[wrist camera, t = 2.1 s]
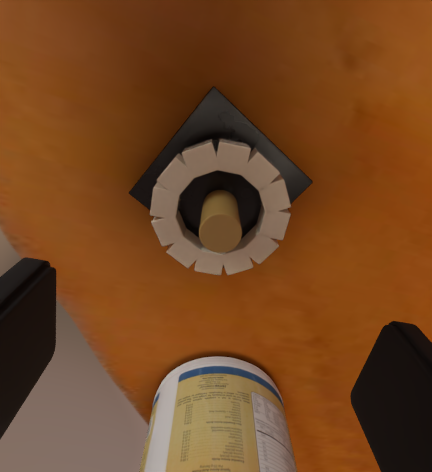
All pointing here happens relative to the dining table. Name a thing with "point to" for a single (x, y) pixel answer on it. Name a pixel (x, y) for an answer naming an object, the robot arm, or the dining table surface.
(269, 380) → the supplement tub
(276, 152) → the ring holder
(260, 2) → the dining table surface
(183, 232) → the ring
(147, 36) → the dining table surface
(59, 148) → the dining table surface
